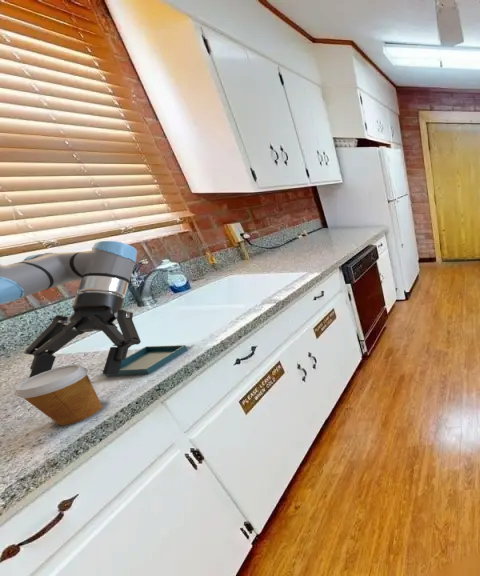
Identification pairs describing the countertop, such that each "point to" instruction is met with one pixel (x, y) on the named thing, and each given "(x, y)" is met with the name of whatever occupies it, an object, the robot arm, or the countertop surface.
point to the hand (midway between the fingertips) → (74, 379)
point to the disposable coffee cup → (61, 394)
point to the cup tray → (149, 359)
